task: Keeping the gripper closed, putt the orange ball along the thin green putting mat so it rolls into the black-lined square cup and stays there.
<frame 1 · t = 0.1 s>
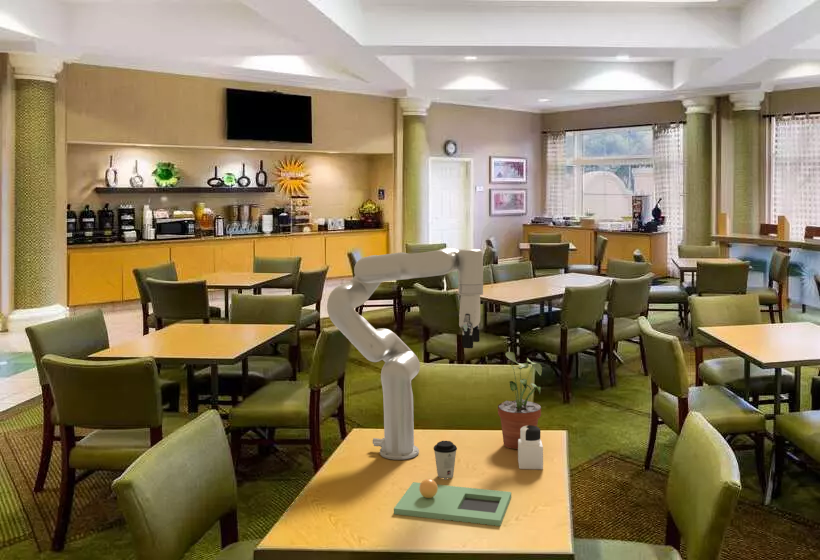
hand: (471, 344, 222), 37 cm above the table, tool pointing down, fingers open, 9 cm apart
coffee cup: (445, 477, 213), on the table
medicine bottle: (530, 465, 221), on the table
putting mat: (453, 505, 193), on the table
potted plant: (521, 445, 238), on the table
orange ball: (428, 488, 195), point 4 cm above the table, touching putting mat
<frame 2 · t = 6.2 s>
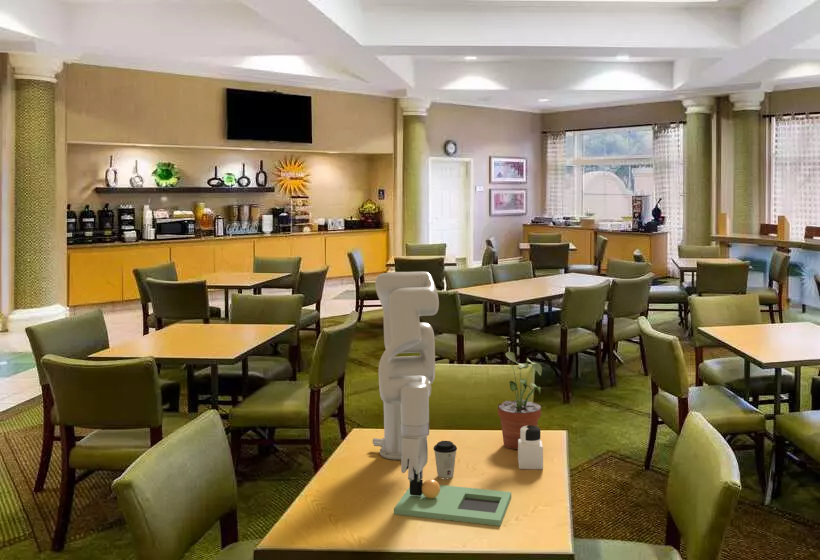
hand: (416, 494, 196), 2 cm above the table, tool pointing down, fingers closed
orange ball: (430, 488, 194), point 4 cm above the table, tilted 13°, touching putting mat
everything else where it was.
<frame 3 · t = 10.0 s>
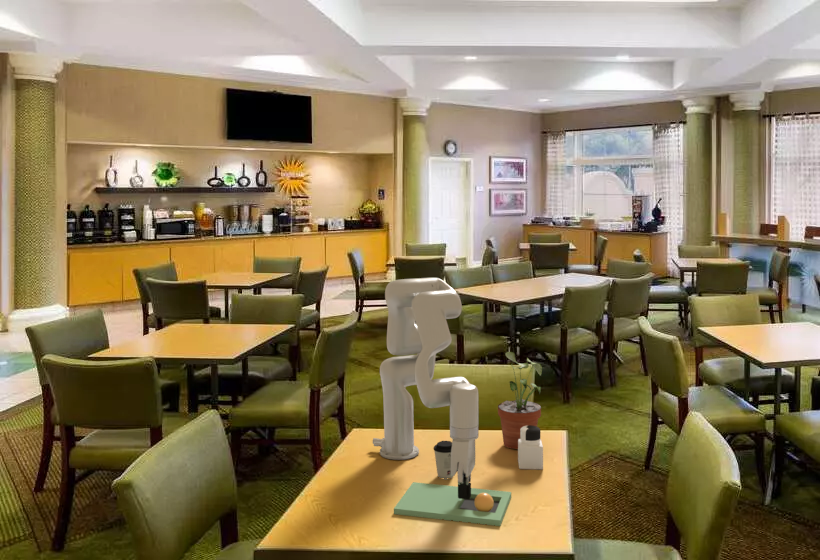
hand: (464, 497, 192), 2 cm above the table, tool pointing down, fingers closed
orange ball: (484, 502, 188), point 3 cm above the table, tilted 23°, touching putting mat
everything else where it was.
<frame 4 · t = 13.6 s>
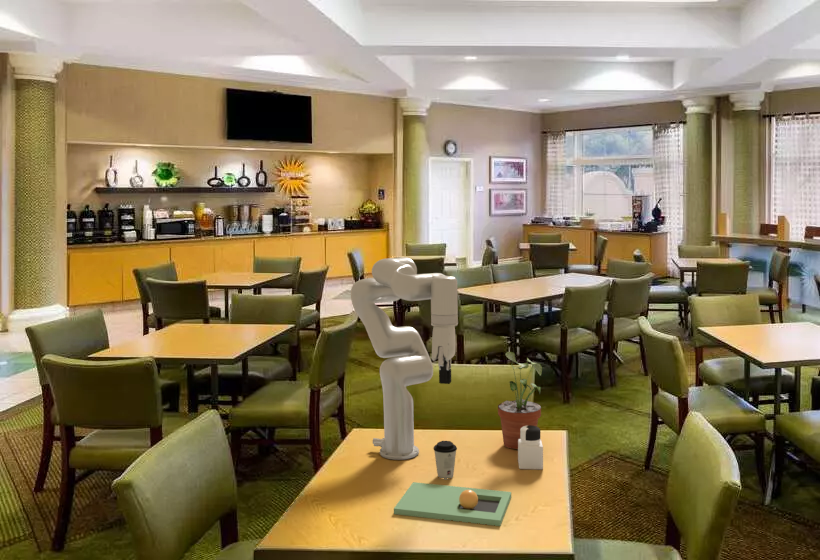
hand: (445, 382, 207), 29 cm above the table, tool pointing down, fingers closed
orange ball: (468, 499, 190), point 3 cm above the table, tilted 85°, touching putting mat
everything else where it was.
at the end: orange ball inside the target area on the putting mat (3.2 cm from its centre), point 2.8 cm above the putting mat's base; the gripper is holding nothing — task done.
